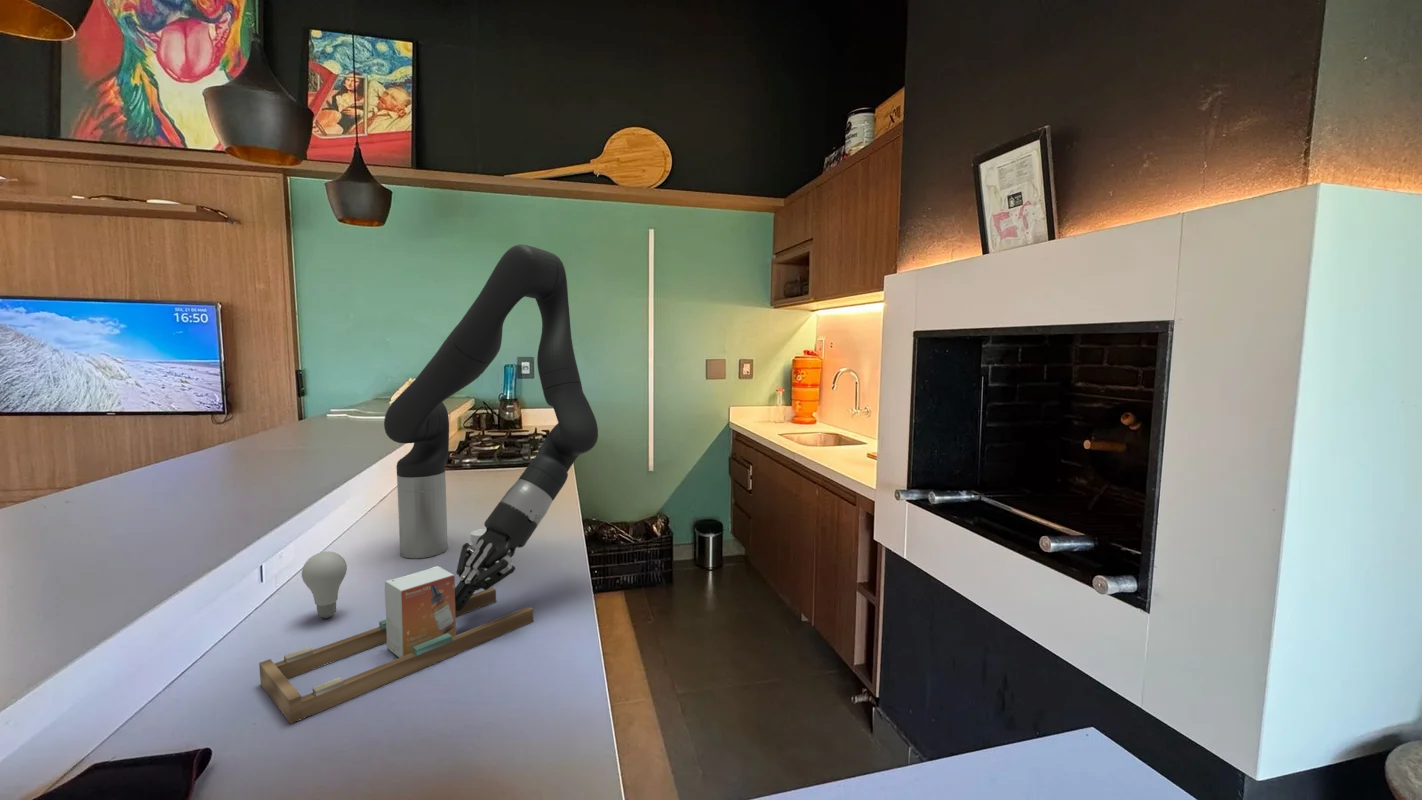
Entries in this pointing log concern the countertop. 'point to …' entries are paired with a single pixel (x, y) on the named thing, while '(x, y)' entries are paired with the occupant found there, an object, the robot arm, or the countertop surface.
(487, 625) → the u-shaped wooden frame
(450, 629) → the small box
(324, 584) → the lightbulb
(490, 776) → the countertop surface
